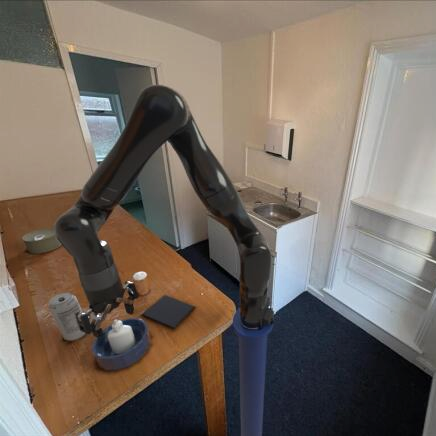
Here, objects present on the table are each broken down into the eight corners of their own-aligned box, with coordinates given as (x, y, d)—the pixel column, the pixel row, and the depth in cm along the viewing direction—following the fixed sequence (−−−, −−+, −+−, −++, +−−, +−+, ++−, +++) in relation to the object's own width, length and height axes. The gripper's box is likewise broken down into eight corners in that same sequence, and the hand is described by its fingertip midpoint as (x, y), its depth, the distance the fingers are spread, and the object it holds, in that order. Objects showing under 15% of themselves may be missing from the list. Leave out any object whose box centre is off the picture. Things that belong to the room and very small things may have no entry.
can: (65, 238, 120) (60, 226, 117) (60, 250, 111) (55, 237, 108) (32, 243, 114) (26, 231, 111) (24, 256, 105) (17, 243, 102)
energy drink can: (85, 322, 77) (70, 288, 71) (92, 332, 74) (77, 297, 68) (61, 334, 73) (43, 299, 66) (68, 345, 70) (50, 309, 63)
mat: (194, 307, 86) (194, 306, 86) (174, 329, 78) (173, 327, 78) (165, 296, 90) (164, 295, 90) (142, 315, 82) (141, 313, 81)
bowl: (160, 338, 74) (157, 326, 72) (120, 378, 63) (115, 366, 61) (129, 324, 78) (125, 312, 76) (86, 360, 67) (80, 347, 64)
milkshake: (132, 296, 89) (126, 275, 85) (143, 287, 94) (138, 267, 89) (141, 299, 88) (136, 278, 84) (153, 289, 93) (148, 269, 89)
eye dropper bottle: (120, 340, 72) (111, 313, 67) (138, 342, 72) (130, 314, 67) (110, 354, 68) (99, 326, 63) (129, 355, 68) (120, 327, 63)
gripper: (80, 303, 52) (99, 350, 59) (137, 268, 64) (148, 310, 71) (58, 293, 54) (79, 340, 61) (117, 260, 66) (129, 302, 73)
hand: (116, 324), depth 66 cm, fingers open, 8 cm apart
